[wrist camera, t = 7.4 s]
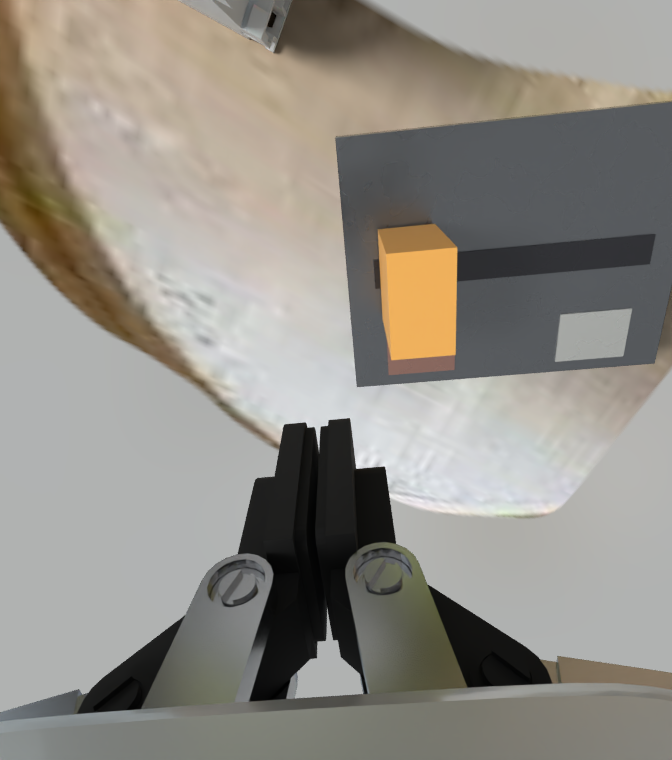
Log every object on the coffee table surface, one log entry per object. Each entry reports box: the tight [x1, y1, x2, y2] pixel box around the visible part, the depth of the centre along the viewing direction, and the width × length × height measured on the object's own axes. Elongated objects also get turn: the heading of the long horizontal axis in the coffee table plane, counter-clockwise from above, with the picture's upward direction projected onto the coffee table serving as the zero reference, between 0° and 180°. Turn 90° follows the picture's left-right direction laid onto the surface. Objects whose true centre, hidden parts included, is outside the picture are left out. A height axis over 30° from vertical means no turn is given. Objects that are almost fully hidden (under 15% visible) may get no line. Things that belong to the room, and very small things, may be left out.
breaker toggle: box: [378, 224, 457, 360], centre depth 24 cm, size 3×5×6 cm, turn 6°
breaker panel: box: [335, 101, 672, 387], centre depth 28 cm, size 18×14×3 cm
